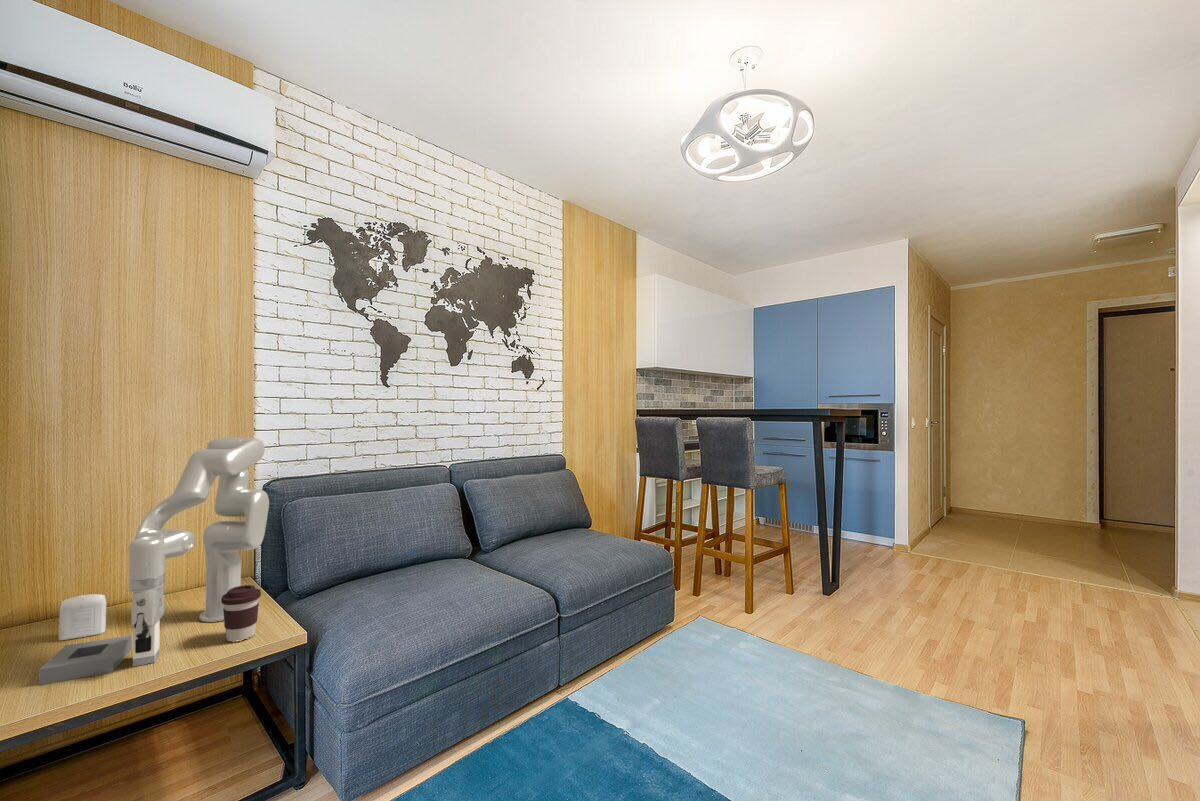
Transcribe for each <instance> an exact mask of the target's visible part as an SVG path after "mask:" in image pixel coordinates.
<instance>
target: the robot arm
mask: <svg viewBox="0 0 1200 801" xmlns="http://www.w3.org/2000/svg"><path fill="white" fill-rule="evenodd" d="M265 449H266V447H265V444H264V443H263V441H262V440H261V439H258V438H255V437H217V438H213V439H211V440H209V441H208V443H207V445H206V449H199V450H196V451H195V452H193V453H192V454H191V455H190V457H189V459H188V461H187V462H186V464H185V467H184V469H183V471H182V474H181V476H180V478H179V480H178V482H177V484H176V487H175V488H174V491H173V492H172V494H171V495H169V496H168V497H166V498H165V499H164V500H162V501H160V502H159V503H158V504H157V505H156V506H154V508H152V509H151V510H150V511H149V512H148V513H147V514H146V515H145V516H144V517H143V519H142V521H141V523H140V524H139V526H138V527H139V528H138V529H137V531H136V533H135V536H134V539H133V540H132V541H131V542H130V543H129V545H128V592H129V593H132V597H131V611H130V612H131V613H130V615H131V616H130V621H131V622H130V623H131V628H132V630H133V629H135V628H136V629H135V634H136V637H135V653H142V652H148V651H150V650H151V636H150V626H154V625H155V624H156V623H157V622H158V621H159V620H160V621H161V618H162V617H163V616H164V614H165V601H164V600H165V599H164V586H165V585H166V584H165V583H166V582H165V581H166V578H165V577H166V560H167V559H171V558H177V557H179V556H180V557H181V556H183V555H186V554H187V553H189V552H190V551H191V550H192V549H193V548H194V546H195V543H196V536H195V534H194V533H192V532H191V531H189V530H186V529H163V527H164V526H165V524H166V523H167V522H168V521H169V520H170V519H171V518H173V517H175V516H176V515H177V514H179V513H181V512H184V511H186V510H189V509H192V508H194V507H196V506H198V505H201V504H203V503H204V502H206V500H207V499H208V497H209V495H210V492H211V490H212V487H213V485H214V483H215V480H216V478H217V477H218V476H219V477H218V482H217V483H218V484H217V488H216V494H215V499H214V500H215V501H214V512H215V514H216V515H217V516H219V517H224V518H244V519H245V520H244V521H242V520H221V521H220V520H219V521H216V522H213V523H210V524H209V525H207V526H206V528H205V529H204V531H203V534H202V543H203V548H204V552H205V561H206V563H205V610H204V611H203V612H201V613H200V614H199V615H198V616H199V620H200V621H201V622H204V623H216V622H217V621H218V622H224V621H223V620H224V612H223V609H224V604H222V602H221V598H222V596H223V595H225V594H226V593H227V592H228V591H229V590H230V589H232V588H234V587H238V586H242V578H241V577H242V574H241V573H242V558H241V556H240V553H239V552H238V551H251V550H252V551H253V550H255V549H257V548H259V547H260V546H261V545H262V543H263V541H264V538H265V534H266V528H267V522H268V514H269V508H270V498H269V495H268V493H267V492H266V491H265V490H262V489H258V488H249V481H250V474H249V473H250V472H249V469H248V468H250V467H252V466H253V465H255V464H257V463H258V462H259V461H260V460H261V459H262V458H263V457H264V453H265V451H266V450H265ZM136 621H137V624H135V623H136ZM218 622H217V623H218ZM146 623H147V625H146V626H143V624H146ZM144 628H147V630H146V631H145V630H143V629H144Z"/></svg>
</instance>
